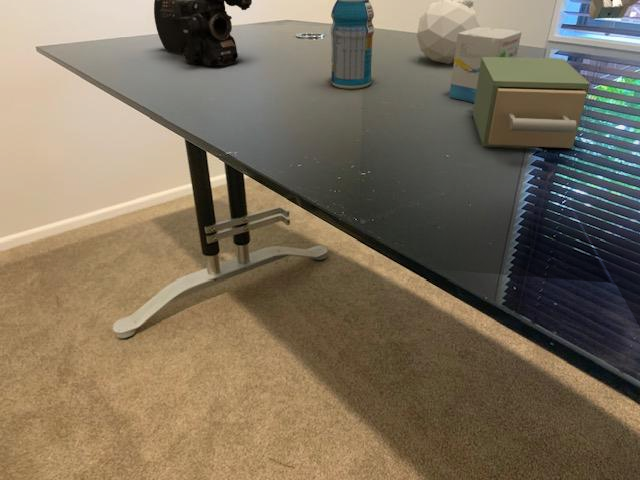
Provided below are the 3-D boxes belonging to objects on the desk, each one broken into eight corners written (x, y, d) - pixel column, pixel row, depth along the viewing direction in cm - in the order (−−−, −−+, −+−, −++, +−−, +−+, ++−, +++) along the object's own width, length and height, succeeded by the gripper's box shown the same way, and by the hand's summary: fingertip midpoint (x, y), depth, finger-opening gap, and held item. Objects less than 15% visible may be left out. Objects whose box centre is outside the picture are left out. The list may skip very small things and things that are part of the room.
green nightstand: (572, 150, 73) (590, 83, 68) (482, 146, 75) (493, 80, 70) (549, 117, 85) (563, 58, 80) (472, 114, 87) (481, 56, 82)
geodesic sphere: (498, 31, 119) (468, -24, 115) (493, 43, 107) (459, -17, 104) (443, 67, 127) (412, 17, 124) (432, 82, 116) (399, 27, 112)
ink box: (489, 106, 90) (501, 37, 84) (447, 97, 95) (455, 32, 89) (510, 95, 96) (523, 30, 89) (469, 87, 101) (479, 25, 94)
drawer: (580, 160, 68) (597, 103, 64) (493, 156, 69) (503, 100, 65) (550, 117, 83) (562, 68, 78) (478, 114, 84) (486, 66, 80)
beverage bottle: (341, 92, 99) (343, -22, 88) (323, 81, 106) (323, -26, 95) (379, 86, 102) (384, -25, 91) (359, 76, 108) (362, -28, 98)
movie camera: (271, 57, 122) (261, -25, 112) (208, 74, 112) (191, -13, 103) (203, 44, 142) (189, -26, 132) (144, 58, 132) (125, -17, 123)
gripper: (829, -169, 36) (716, -18, 49) (531, -142, 40) (498, -8, 53) (850, -103, 35) (726, 35, 48) (535, -81, 38) (500, 43, 51)
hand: (604, 13), depth 50 cm, fingers closed
